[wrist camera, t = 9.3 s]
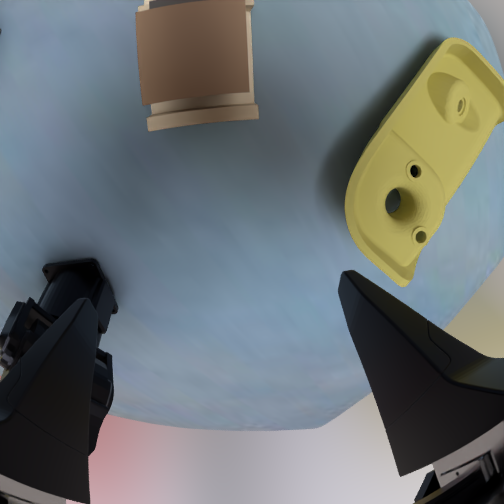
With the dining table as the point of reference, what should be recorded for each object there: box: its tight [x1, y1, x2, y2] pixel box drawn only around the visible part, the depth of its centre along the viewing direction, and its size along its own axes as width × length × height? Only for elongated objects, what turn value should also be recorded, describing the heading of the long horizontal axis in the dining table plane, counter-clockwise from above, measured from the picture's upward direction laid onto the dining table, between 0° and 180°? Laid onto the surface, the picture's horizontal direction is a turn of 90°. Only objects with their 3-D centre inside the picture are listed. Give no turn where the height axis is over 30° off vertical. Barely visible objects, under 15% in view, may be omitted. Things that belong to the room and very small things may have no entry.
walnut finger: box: [136, 0, 250, 106], centre depth 10 cm, size 4×5×6 cm
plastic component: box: [345, 38, 504, 287], centre depth 18 cm, size 20×7×10 cm
